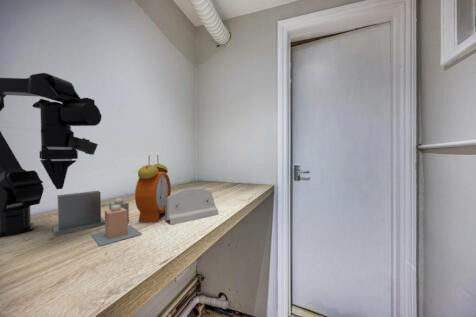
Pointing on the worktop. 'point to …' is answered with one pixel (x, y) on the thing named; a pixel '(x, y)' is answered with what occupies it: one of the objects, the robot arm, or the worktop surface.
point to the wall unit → (78, 212)
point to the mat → (104, 240)
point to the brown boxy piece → (116, 222)
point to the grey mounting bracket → (189, 206)
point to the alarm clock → (152, 191)
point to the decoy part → (122, 205)
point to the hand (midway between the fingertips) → (57, 186)
